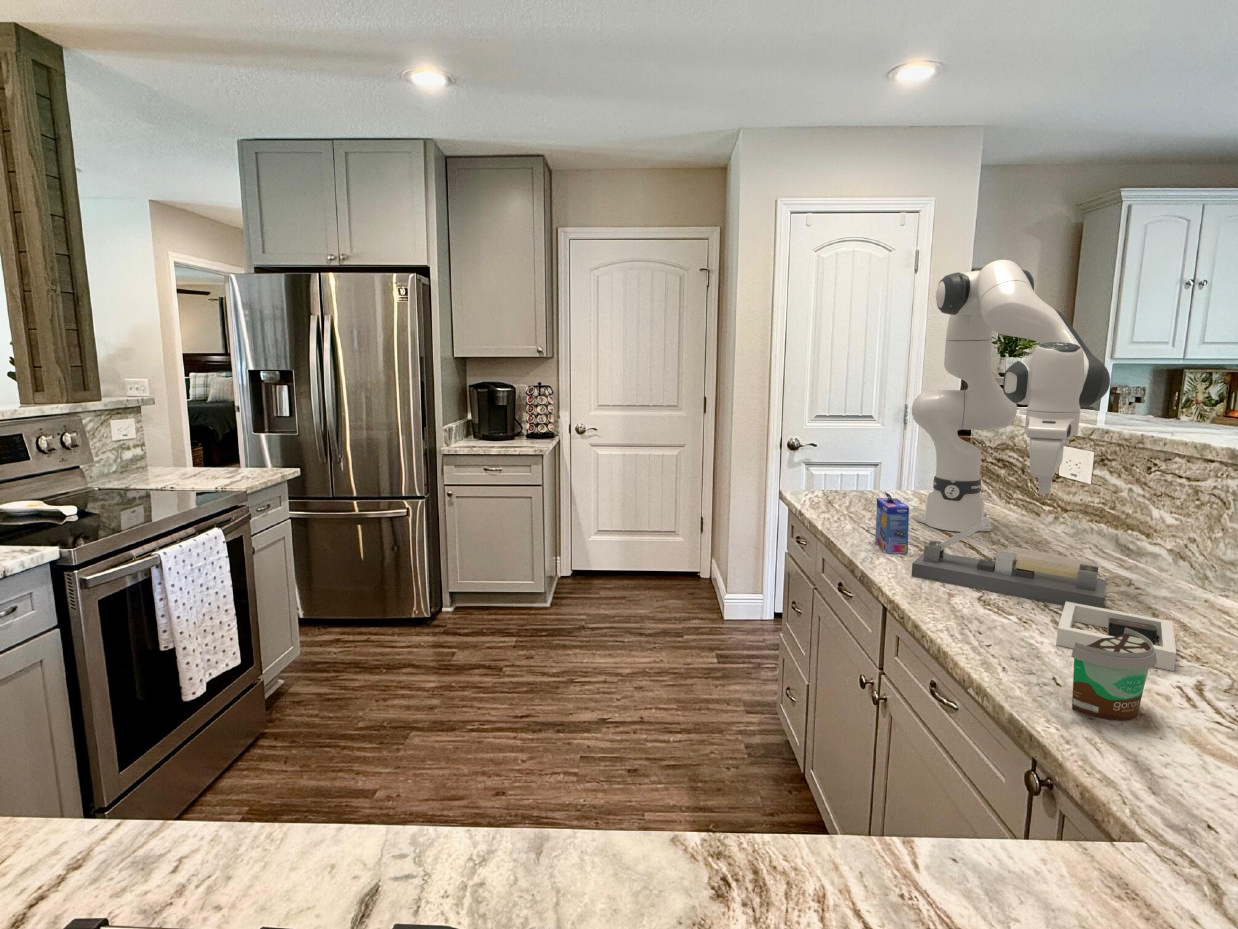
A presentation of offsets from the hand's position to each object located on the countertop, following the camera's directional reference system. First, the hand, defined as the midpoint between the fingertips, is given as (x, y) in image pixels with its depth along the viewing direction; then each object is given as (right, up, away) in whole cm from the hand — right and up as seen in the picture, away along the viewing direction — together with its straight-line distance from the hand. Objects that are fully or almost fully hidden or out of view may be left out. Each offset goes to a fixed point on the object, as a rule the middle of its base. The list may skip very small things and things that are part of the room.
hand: (1044, 492), depth 128 cm
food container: (-18, -28, -42) cm, 54 cm away
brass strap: (+2, -17, +1) cm, 17 cm away
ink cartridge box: (-17, -16, +34) cm, 41 cm away
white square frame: (-2, -24, -20) cm, 32 cm away
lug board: (-4, -20, +7) cm, 21 cm away
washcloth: (+12, -19, +18) cm, 29 cm away
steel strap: (-11, -11, +11) cm, 19 cm away
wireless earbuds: (+2, -25, -20) cm, 32 cm away
